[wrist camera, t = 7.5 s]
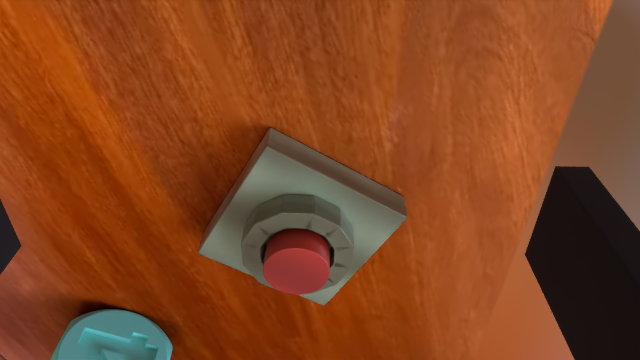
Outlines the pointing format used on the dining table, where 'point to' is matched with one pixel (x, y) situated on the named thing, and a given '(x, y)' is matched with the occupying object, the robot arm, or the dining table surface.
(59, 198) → the dining table surface
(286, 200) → the button block
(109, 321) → the decorative dice
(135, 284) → the dining table surface
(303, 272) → the button
